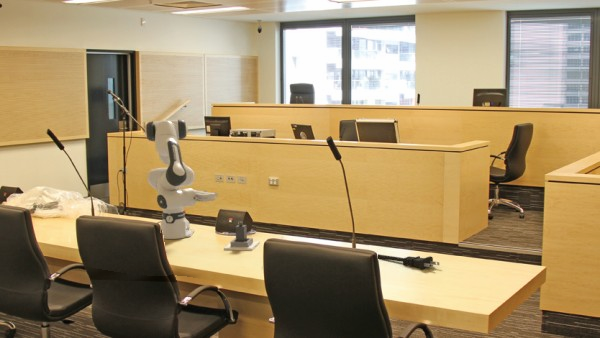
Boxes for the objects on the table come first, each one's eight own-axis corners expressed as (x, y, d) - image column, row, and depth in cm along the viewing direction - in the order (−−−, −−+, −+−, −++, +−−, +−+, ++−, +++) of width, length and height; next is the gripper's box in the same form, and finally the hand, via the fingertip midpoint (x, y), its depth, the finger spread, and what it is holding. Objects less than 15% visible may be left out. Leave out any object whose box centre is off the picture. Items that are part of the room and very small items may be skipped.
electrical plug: (430, 272, 326) (430, 261, 325) (359, 261, 355) (358, 251, 355) (441, 268, 332) (441, 257, 331) (370, 257, 361) (370, 247, 361)
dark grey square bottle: (238, 243, 386) (237, 221, 385) (247, 243, 385) (246, 221, 384) (236, 245, 382) (235, 222, 380) (244, 245, 381) (243, 223, 379)
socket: (232, 243, 392) (232, 236, 392) (259, 243, 389) (259, 237, 389) (223, 249, 378) (223, 243, 377) (252, 250, 375) (251, 243, 374)
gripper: (200, 192, 354) (223, 189, 363) (176, 188, 368) (199, 185, 378) (201, 205, 354) (224, 201, 364) (177, 201, 369) (199, 197, 379)
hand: (211, 193), depth 371 cm, fingers open, 8 cm apart
